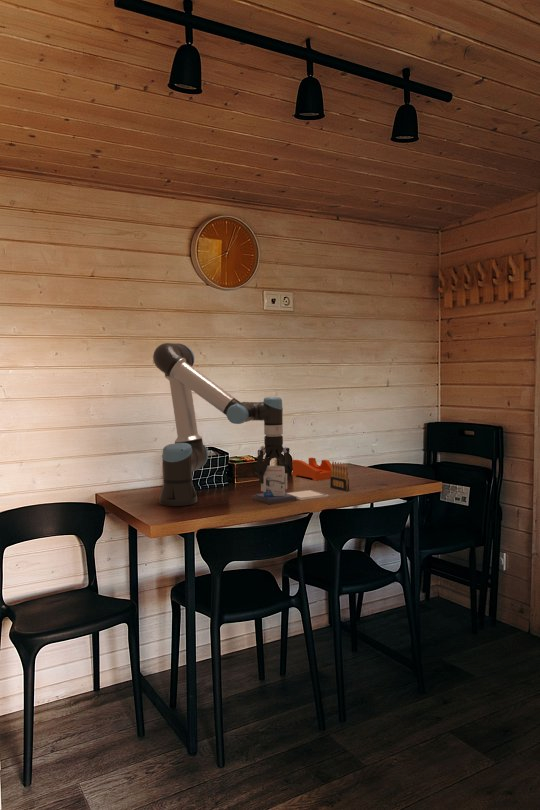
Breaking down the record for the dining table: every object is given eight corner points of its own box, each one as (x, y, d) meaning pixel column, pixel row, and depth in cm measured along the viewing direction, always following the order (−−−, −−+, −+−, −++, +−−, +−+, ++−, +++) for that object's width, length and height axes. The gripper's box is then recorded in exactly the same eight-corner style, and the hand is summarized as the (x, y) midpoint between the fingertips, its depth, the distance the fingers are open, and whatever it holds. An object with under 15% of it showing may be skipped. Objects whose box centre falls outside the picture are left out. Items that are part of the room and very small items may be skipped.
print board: (300, 500, 257) (300, 498, 257) (282, 494, 269) (282, 492, 269) (328, 496, 264) (328, 494, 264) (309, 490, 276) (309, 489, 276)
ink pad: (268, 504, 250) (268, 499, 250) (252, 498, 261) (252, 494, 261) (296, 500, 256) (296, 496, 256) (279, 495, 268) (279, 490, 268)
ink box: (263, 496, 257) (262, 467, 256) (264, 493, 262) (264, 465, 261) (284, 496, 256) (284, 467, 255) (285, 493, 261) (285, 465, 260)
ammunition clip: (330, 487, 283) (329, 461, 282) (333, 487, 284) (333, 460, 283) (346, 491, 274) (345, 463, 273) (349, 490, 275) (349, 463, 274)
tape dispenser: (292, 476, 314) (292, 460, 314) (312, 473, 322) (312, 457, 321) (316, 481, 300) (316, 464, 299) (336, 478, 307) (336, 461, 307)
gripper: (254, 437, 248) (254, 494, 250) (301, 434, 259) (302, 488, 261) (245, 436, 255) (245, 491, 256) (291, 432, 266) (292, 485, 267)
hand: (274, 490), depth 259 cm, fingers closed on ink box, 9 cm apart
